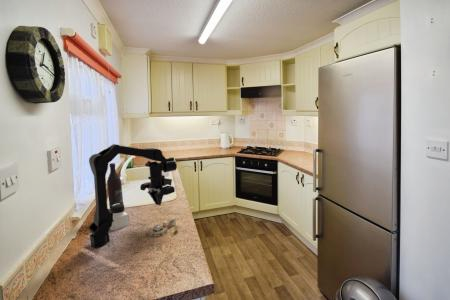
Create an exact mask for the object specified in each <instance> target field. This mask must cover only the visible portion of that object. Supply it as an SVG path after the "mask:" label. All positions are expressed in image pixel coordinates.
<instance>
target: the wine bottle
mask: <svg viewBox="0 0 450 300" xmlns="http://www.w3.org/2000/svg"><path fill="white" fill-rule="evenodd" d="M109 168H110V169H109V170H110V171H109V175H108V177H107V179H106V188H107V198H108V205H109V210H110V211H111V207H112V206H113V205H114V204H124V198H123V197H124V196H123V187H122V180H121V177H120V176H119V174H118V172H117V171H116V163H115V162H112V163H111V162H110V163H109Z"/></svg>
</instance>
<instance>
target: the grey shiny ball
mask: <svg viewBox="0 0 450 300" xmlns="http://www.w3.org/2000/svg"><path fill="white" fill-rule="evenodd" d="M161 226H162V225H161ZM161 226H160V224H157V225H154V226H153V227H154V229H155V231H154V232H160V231H162V230H161Z"/></svg>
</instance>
